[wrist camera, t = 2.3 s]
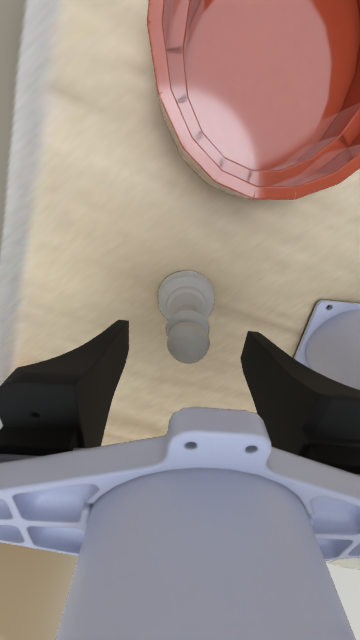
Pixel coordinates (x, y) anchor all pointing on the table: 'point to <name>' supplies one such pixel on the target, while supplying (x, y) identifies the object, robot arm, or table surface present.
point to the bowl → (260, 91)
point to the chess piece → (186, 314)
